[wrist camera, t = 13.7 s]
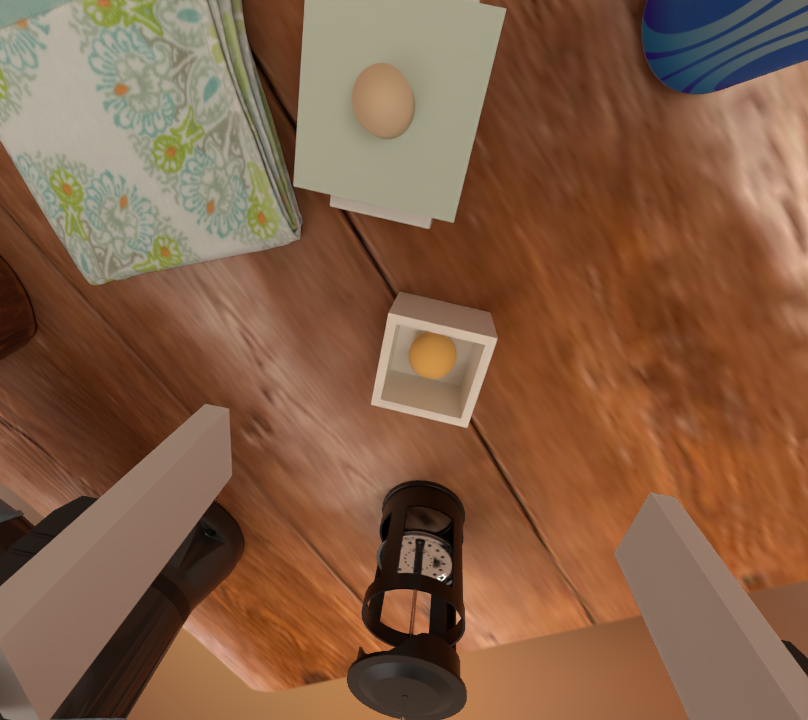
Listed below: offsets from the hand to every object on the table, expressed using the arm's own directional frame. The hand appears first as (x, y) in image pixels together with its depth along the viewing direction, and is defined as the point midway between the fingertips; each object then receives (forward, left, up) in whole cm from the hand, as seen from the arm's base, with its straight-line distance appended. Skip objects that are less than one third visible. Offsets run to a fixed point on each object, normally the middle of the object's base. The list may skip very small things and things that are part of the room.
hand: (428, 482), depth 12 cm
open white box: (0, -5, -22) cm, 23 cm away
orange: (0, -5, -22) cm, 22 cm away
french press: (+4, -26, -23) cm, 34 cm away
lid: (-6, +11, -18) cm, 22 cm away
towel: (-25, +6, -23) cm, 34 cm away
